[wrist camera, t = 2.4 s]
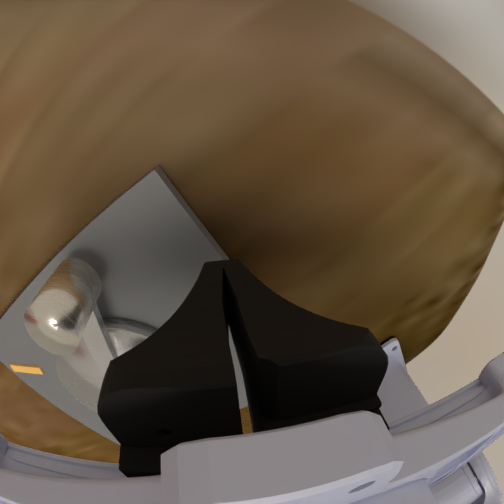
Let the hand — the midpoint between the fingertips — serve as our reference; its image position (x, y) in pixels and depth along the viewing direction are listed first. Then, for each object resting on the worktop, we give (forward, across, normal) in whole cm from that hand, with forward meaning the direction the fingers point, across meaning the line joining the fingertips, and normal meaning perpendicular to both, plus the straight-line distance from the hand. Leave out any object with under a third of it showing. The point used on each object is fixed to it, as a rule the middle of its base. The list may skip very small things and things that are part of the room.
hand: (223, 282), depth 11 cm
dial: (+2, +7, +5) cm, 9 cm away
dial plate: (+4, +7, +8) cm, 11 cm away
